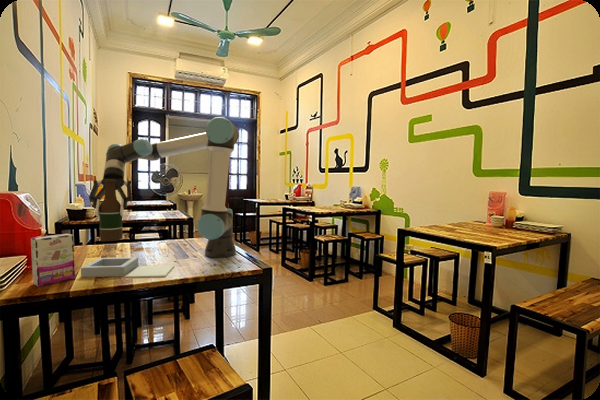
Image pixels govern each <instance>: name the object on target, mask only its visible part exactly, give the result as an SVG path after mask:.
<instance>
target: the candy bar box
mask: <svg viewBox="0 0 600 400" xmlns="http://www.w3.org/2000/svg"><path fill="white" fill-rule="evenodd" d="M30 247H31V250H30V251H31V270H32V285H34V286H36V287H45V286H47V285H53V284H56V283H61V282H66V281H70V280H73V279H76V271H75V270H76V269H75V248H74V247H75V245H74V234H73V233H72V234H71V233H61V234H60V233H59V234H54V235H53V234H52V235H45V236H38V237H31V238H30Z"/></svg>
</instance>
